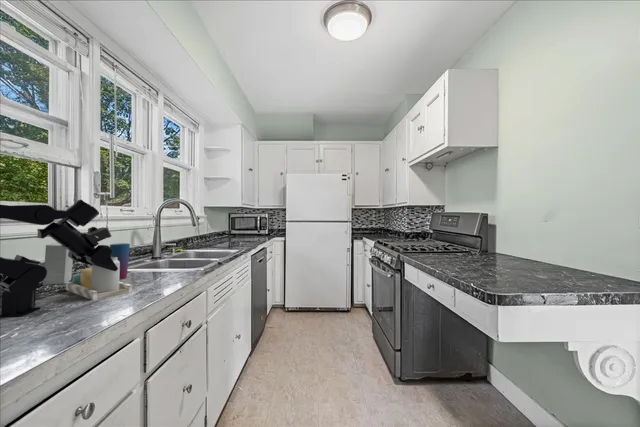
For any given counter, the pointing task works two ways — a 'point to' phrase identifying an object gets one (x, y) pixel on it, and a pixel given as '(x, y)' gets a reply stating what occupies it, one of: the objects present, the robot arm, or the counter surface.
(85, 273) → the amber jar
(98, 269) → the can
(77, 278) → the pusher plate
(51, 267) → the skincare box
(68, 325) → the counter surface
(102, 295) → the tray
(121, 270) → the cup
